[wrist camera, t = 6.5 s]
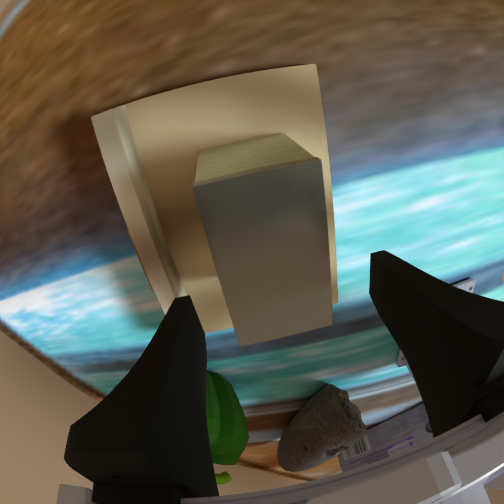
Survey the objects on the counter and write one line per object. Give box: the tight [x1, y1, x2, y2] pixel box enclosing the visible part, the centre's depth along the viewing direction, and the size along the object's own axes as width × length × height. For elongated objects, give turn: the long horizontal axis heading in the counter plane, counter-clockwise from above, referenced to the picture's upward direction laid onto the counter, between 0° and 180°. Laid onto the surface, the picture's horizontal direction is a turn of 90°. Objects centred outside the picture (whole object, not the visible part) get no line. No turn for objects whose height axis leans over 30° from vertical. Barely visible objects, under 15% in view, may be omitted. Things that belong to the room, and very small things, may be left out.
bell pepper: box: [206, 371, 249, 484], centre depth 23 cm, size 8×8×10 cm
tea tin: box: [192, 133, 333, 347], centre depth 15 cm, size 8×5×6 cm, turn 11°
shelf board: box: [91, 64, 338, 333], centre depth 18 cm, size 16×11×4 cm
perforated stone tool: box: [277, 384, 367, 472], centre depth 30 cm, size 15×5×7 cm, turn 155°
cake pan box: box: [337, 403, 433, 472], centre depth 31 cm, size 19×5×18 cm, turn 114°
